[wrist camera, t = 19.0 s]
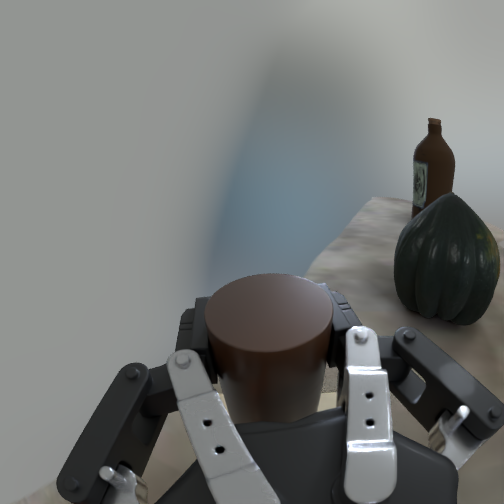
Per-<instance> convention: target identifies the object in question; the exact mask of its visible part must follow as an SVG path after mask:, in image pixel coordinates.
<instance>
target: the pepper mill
mask: <svg viewBox="0 0 504 504" xmlns="http://www.w3.org/2000/svg"><path fill="white" fill-rule="evenodd" d="M204 320H205V325H206V329H207V333H208V337H209V342H210V346H211V350H212V354H213V358H214V362H215V366H216V369H217V373H218V377H219V381H220V384H221V388H222V392H223V395H224V399H225V402H226V406H227V409H228V413H229V416H230V418H231V420H232V422H233V424H239V423H250V422H259V421H265V422H280V423H292V422H294V421H297V420H299V419H302V418H304V417H306V416H309V415H311V414H313V413H315V412H317V411H318V406H319V401H320V396H321V391H322V386H323V380H324V374H325V369H326V362H327V356H328V349H329V343H330V335H331V328H332V320H333V303H332V301H331V298H330V297H329V295H328V294H327V292H326V291H325V290H324V289H323V288H321V287H320V286H319V285H317V284H316V283H314V282H312V281H310V280H307V279H305V278H302V277H298V276H293V275H287V274H259V275H253V276H248V277H244V278H241V279H238V280H235V281H233V282H231V283H229V284H227V285H225V286H223V287H222V288H220V289H219V290H218V291H216V292H215V293H214V294H213V295H212V297H211V298H210V299H209V300H208V302H207V304H206V307H205V311H204Z"/></svg>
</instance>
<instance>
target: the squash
mask: <svg viewBox="0 0 504 504" xmlns="http://www.w3.org/2000/svg"><path fill="white" fill-rule="evenodd" d="M499 274H500V256H499V250H498V246H497V243H496V241H495V239H494V237H493V235H492V233H491V232H490V230H489V229H488V228H487V226H486V225H485V224H484V222H483V221H482V220H481V219H480V218H479V216H478V215H477V214H476V213H475V212H474V211H473V210H472V209H471V208H470V207H469V206H468V205H467V204H466V203H465V202H464V201H463V200H462V199H461V198H460V197H458V196H457V195H455V194H454V193H453V192H449V193H448V194H445V195H442V196H441V197H439V198H438V199H437V200H435V201H434V202H433V203H431V204H430V205H429V206H428V207H426V208H425V209H424V210H422V211H421V212H420V213H419V214H417V215H416V216H415V217H414V218H413V219H412V220H411V221H410V222H409V223H408V224H407V225H406V226H405V227H404V229H403V230H402V232H401V234H400V236H399V239H398V243H397V246H396V250H395V258H394V280H395V286H396V290H397V294H398V297H399V299H400V301H401V302H402V303H403V305H404V306H406V307H407V308H408V309H410V310H413V311H418V312H420V313H421V315H422V316H424V317H426V318H430V317H433V316H434V315H436V313H437V312H438V316H439V317H440V318H441V319H443V320H451V321H452V322H454V323H456V324H458V325H469V324H472V323H474V322H476V321H477V320H478V319H479V318H481V317H482V315H483V314H484V313H485V311H486V310H487V308H488V306H489V304H490V302H491V300H492V298H493V294H494V290H495V287H496V285H497V282H498V279H499Z"/></svg>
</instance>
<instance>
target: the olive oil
mask: <svg viewBox="0 0 504 504" xmlns="http://www.w3.org/2000/svg"><path fill="white" fill-rule="evenodd" d="M428 121H429V124H428V135H427V136H426V137H425V138H424V139H423V140H422V141H421V142H420V143H419V144H418V145H417V147H416V149H415V152H414V158H413V166H414V182H413V207H412V219H413V218H414V217H415V216H416V215H417V214H419V213H420V212H421V211H422V210H424V209H425V208H426V207H428V206H429V205H430V204H431V203H433V202H434V201H435V200H437V199H438V198H439V197H441V196H442V195H445V194H448V193H449V192H452V187H453V179H454V171H455V159H454V155H453V152H452V150H451V149H450V148H449V146H448V145H447V143H446V142H445V140H444V139H443V137H442V135H441V131H442V128H441V120H439V119H434V118H428Z"/></svg>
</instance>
